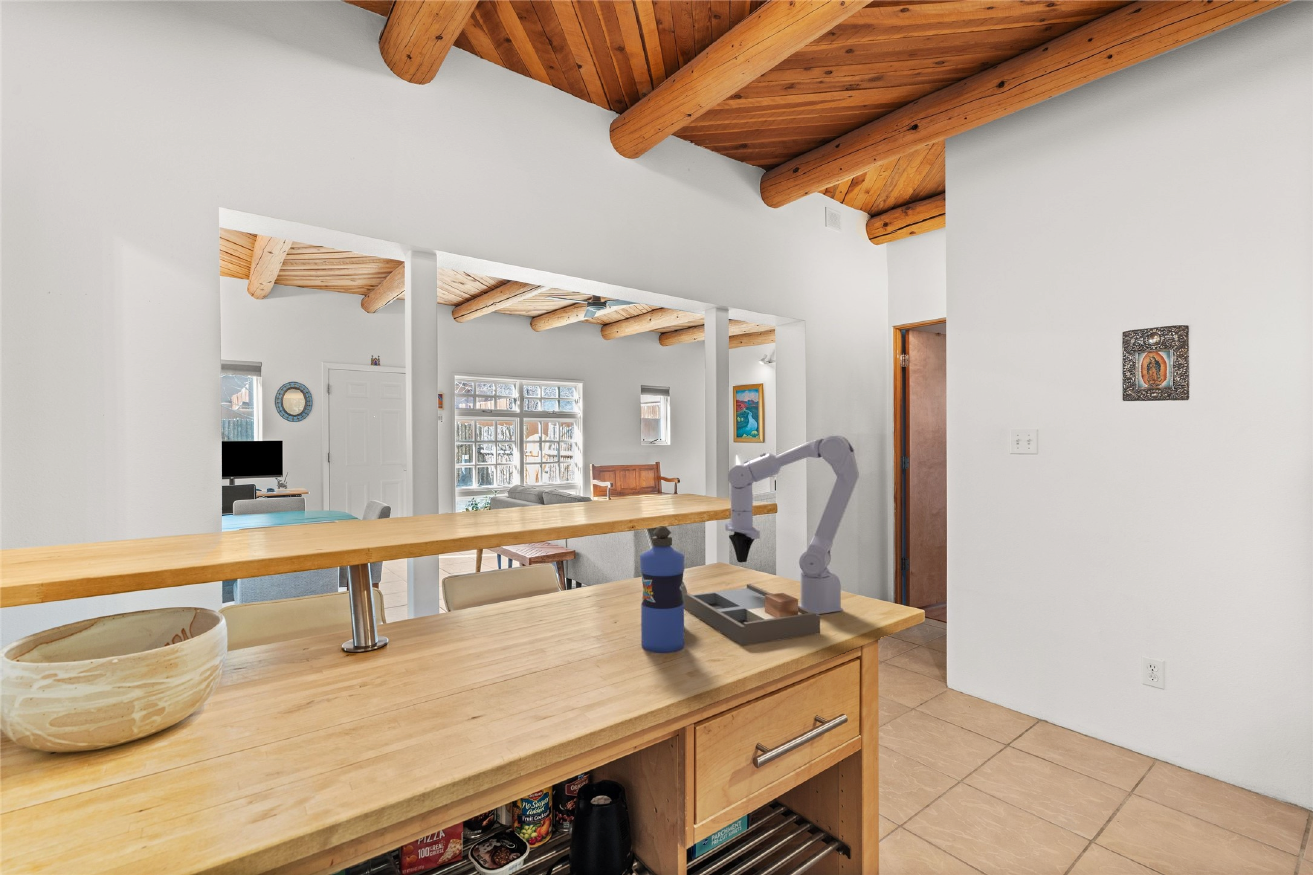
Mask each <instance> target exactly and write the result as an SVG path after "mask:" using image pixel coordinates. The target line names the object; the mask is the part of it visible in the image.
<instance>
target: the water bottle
mask: <svg viewBox="0 0 1313 875" xmlns="http://www.w3.org/2000/svg"><path fill="white" fill-rule="evenodd" d="M652 533H653V535H654V536H653V537H651V541H652V542H651V544H652V547H651V549H649V550H647V551H645V552H644V553H641V554H640V555H639V562H640V564H639V568H640V569H639V570H640V573H641V574H640V575H641V581H642V582H641V583H642V597H641V605H640V610H641V611H640V613H641V615H640V618H641V619H640V627H641V628H640V630H641V631H640V632H641V638H640V639H641V640H640V642H641V648H642V649H644V650H645V651H647V652H650V653H655V654H667V653H675V652H679V651H681V650H683V649H684V647H685V609H684V603H683V596H682V582H684V581H683V579H684V572H685V554H684V553H681V552H680V551H677V550H675V549H674V548H673V547H672V546H673V537H672V536H670V535H671V534H672V531H670V529H669V528H668V527H667V526H657V527H656V528H655V529H654V531H653V532H652Z"/></svg>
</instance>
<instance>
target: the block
mask: <svg viewBox="0 0 1313 875" xmlns="http://www.w3.org/2000/svg"><path fill="white" fill-rule="evenodd" d="M798 604H799V598H797V597H794V596H791V595H789V594H787V593H785V592H778V593H771V594H769V595H765V613H767V614H769V615H771V616H773V617H775V618H778V617H785V616H792V615H798Z"/></svg>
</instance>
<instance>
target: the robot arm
mask: <svg viewBox="0 0 1313 875" xmlns="http://www.w3.org/2000/svg"><path fill="white" fill-rule="evenodd" d="M807 458H814V459H820V458H822V459H823V460H825V462H826V463H827V464H828V465H829V466H830V467H831V469H832V470H833V472H834V474H835V476H836V479H835V482H834V484H833V486H832V490H831V492H830V495H829V497H828V500H827V502H826V505H825V507H824V510H823V513H822V515H821V517H820V520H819V522H818V525H817V528H816V530H815V533H814V536H813V537H812V539H811V541H810V543H809V546H808V547H807V549H806V550H805V551H804V552H803V553H802V554H801V555H800V557H799V560H798V561H799V562H798V565H799V568H800V603H798V606H800V607H803V608H805V609H807V610H809V611H811V612H814V613H816V614H818V615H822V614H829V613H836V612H842V611H844V609H843V607H842V605H841V604H842V602H841V601H842V599H841V598H842V596H841V595H842V594H841V593H842V590H841V588H842V586H841V581H840V578H839V576H838V575H837V574H836V573H834V572H831V571H830V570H829V568H828V566H829V565H830V563H831V558H832V555H831V550H832V548H833V544H834V539H835V537H836V535H837V532H838V530H839V527H840V525H841V523H842V519H843V518H844V515H845V512H846V511H847V510H846V509H847V507H848V505H849V502H850V500H851V497H852V494H853V492H854V490H855V488H856V485H857V483H858V480H859V476H860V472H859V467H858V463H857V459H856V453H855V449H854V447H853V446H852V444H851V442H849V440H848V439H847V437H845V436H842V435H830V436H829V435H828V436H827V437H825V438H819V439H814V440H812V441H807V442H805V443H803V444H801V445H799V446H796V447H794V448H791V449H789V450H787V451H784V452H782V453H780V454H778V455H775V454H773V453H766V452H763V453H761V454H759V457H756V458H755V459H751V460H748V459H747V460H744V461H743V464H741V465H740V464H736V465H734V466H733V467H732V468H731V469H730V470H729V471H728V473H727V474H728V475H727V479H728V482H729V484H730V523H729V522H727V523H725V524H724V525H725V526H724V527H725V531H727V532H732V533H733V534H729V535H728V538H729V540H730V541H731V544H732V546H733V549H734V553H735V557H736V561H737V563H747V561H748V557H749V553H750V549H751V547H752V546H753V542H754V541H755V540H757V539H760V530H757V529H756V528H755V527H753V526H754V525H753V523H754V521H753V520H754V519H753V518H754V517H753V514H754V512H753V510H754V509H753V506H754V504H753V503H754V502H753V501H754V500H753V499H754V498H753V484H754V483H758V482H760V481H762V480H766V479H769V478H770V477H773V476H776V475H778V474H779V473H780V471H781V468H783V467H784V466H787V465H790V464H793V463H796V462H798V461H799V462H800V461H801V460H804V459H807Z"/></svg>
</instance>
